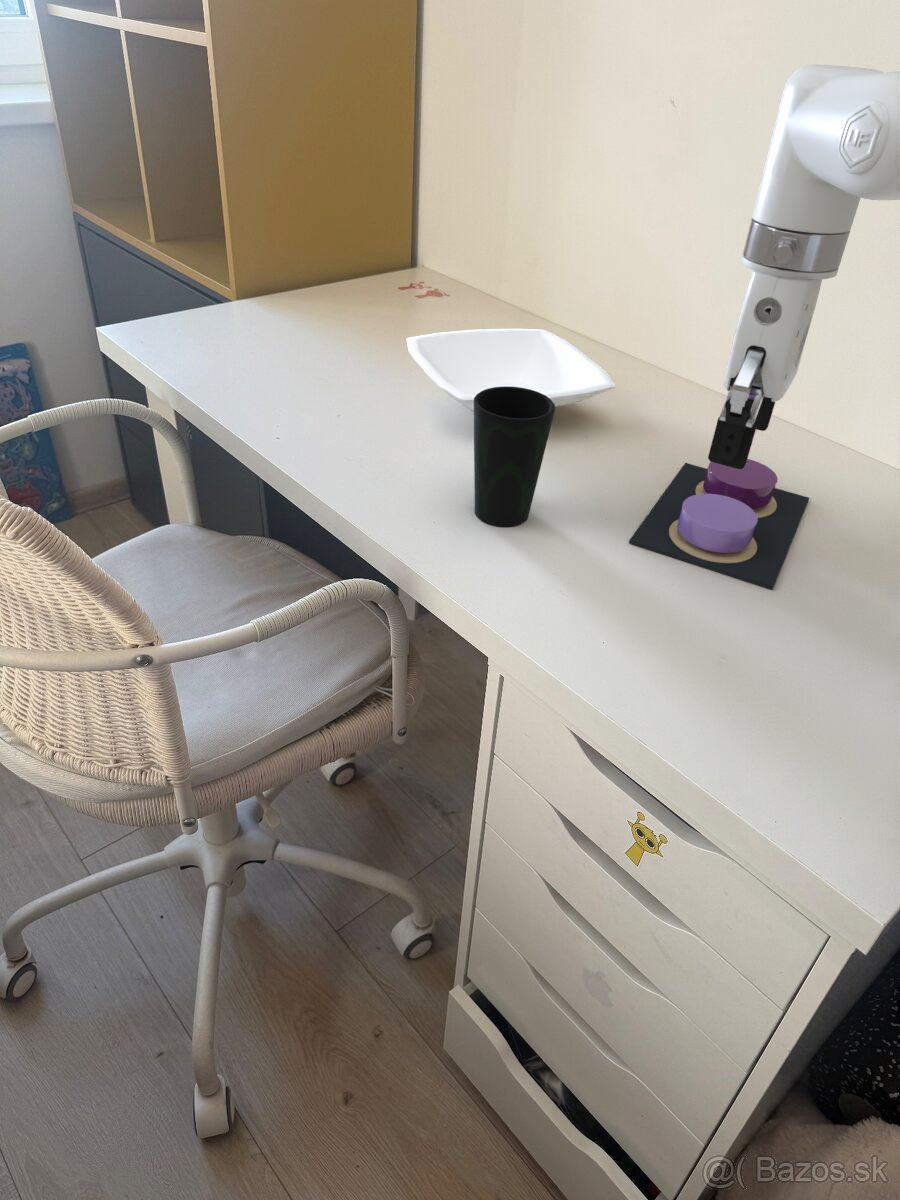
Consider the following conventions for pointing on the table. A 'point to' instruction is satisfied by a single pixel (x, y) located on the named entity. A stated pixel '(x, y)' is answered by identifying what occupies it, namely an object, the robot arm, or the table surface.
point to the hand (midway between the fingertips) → (738, 444)
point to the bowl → (508, 364)
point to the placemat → (749, 564)
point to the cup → (508, 452)
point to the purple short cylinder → (742, 483)
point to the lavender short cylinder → (717, 523)
